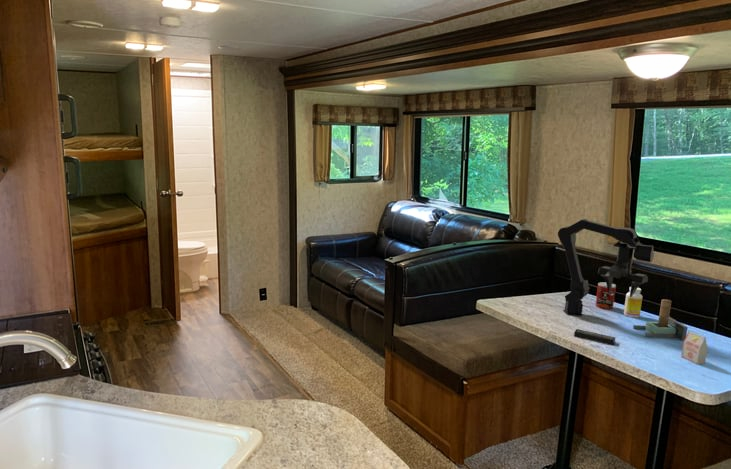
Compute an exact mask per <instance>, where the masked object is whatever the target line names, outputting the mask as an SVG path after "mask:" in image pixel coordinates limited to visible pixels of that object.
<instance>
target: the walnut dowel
mask: <svg viewBox="0 0 731 469" xmlns="http://www.w3.org/2000/svg"><path fill="white" fill-rule="evenodd" d="M672 302H673V301H672V300H670V299H666V298H665V299H661V302H660V307H659V308H660V309H659V316H658V321H657V322H658V327H667V326H668V320H669V317H670V312H671V308H672V307H671V306H672Z"/></svg>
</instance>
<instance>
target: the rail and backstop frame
mask: <svg viewBox="0 0 731 469" xmlns="http://www.w3.org/2000/svg"><path fill="white" fill-rule="evenodd" d="M668 324H669V325H670V326H672V327H674V328H675V329H676V334H651V333H649V332H647V333H645V334H644V337H645V338H647V339H648V338H649V339H650V338H652V339H678V340H679V341H680V342H684V340H685V338H686V336H687V334H688V326H686V325H684V324H683V323H681V322H679V321H677V320H676V319H674V318H673V317H671V316H669V320H668ZM645 326H646V325H643V324H641V325H638V324H637V325H635V324H633V327H632V329H634V330H645Z"/></svg>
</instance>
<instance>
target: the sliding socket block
mask: <svg viewBox="0 0 731 469" xmlns="http://www.w3.org/2000/svg"><path fill="white" fill-rule="evenodd" d="M644 326H645V329H644V330H645V331H646V332H647V333H650V334H676V329H675V328H674V327H672V326H670V325H669V324H668V326H667V327H658V321H645V325H644Z"/></svg>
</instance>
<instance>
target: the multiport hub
mask: <svg viewBox="0 0 731 469" xmlns="http://www.w3.org/2000/svg"><path fill="white" fill-rule="evenodd" d="M573 336H574V337H575V338H580V339H584V340H588V341H593V342H597V343H602V344H605V345H606V344H607V345H609V346H613V345H615V343H616V337H614V336H610V335H606V334H602V333H601V334H600V333H598V332H594V331H588V330H583V329H579V328H576V329H575V330H574V333H573Z"/></svg>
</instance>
